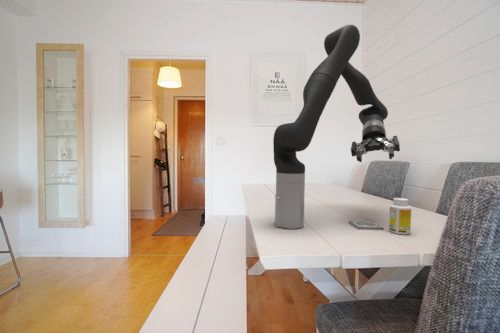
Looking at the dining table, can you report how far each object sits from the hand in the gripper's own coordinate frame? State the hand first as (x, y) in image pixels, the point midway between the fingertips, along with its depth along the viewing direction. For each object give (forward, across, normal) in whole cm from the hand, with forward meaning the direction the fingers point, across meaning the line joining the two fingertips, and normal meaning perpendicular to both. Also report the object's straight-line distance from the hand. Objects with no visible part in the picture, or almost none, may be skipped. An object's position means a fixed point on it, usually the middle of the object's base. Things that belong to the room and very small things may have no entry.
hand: (374, 158), depth 78 cm
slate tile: (+10, -5, +20) cm, 23 cm away
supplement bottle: (+12, +4, +20) cm, 24 cm away
